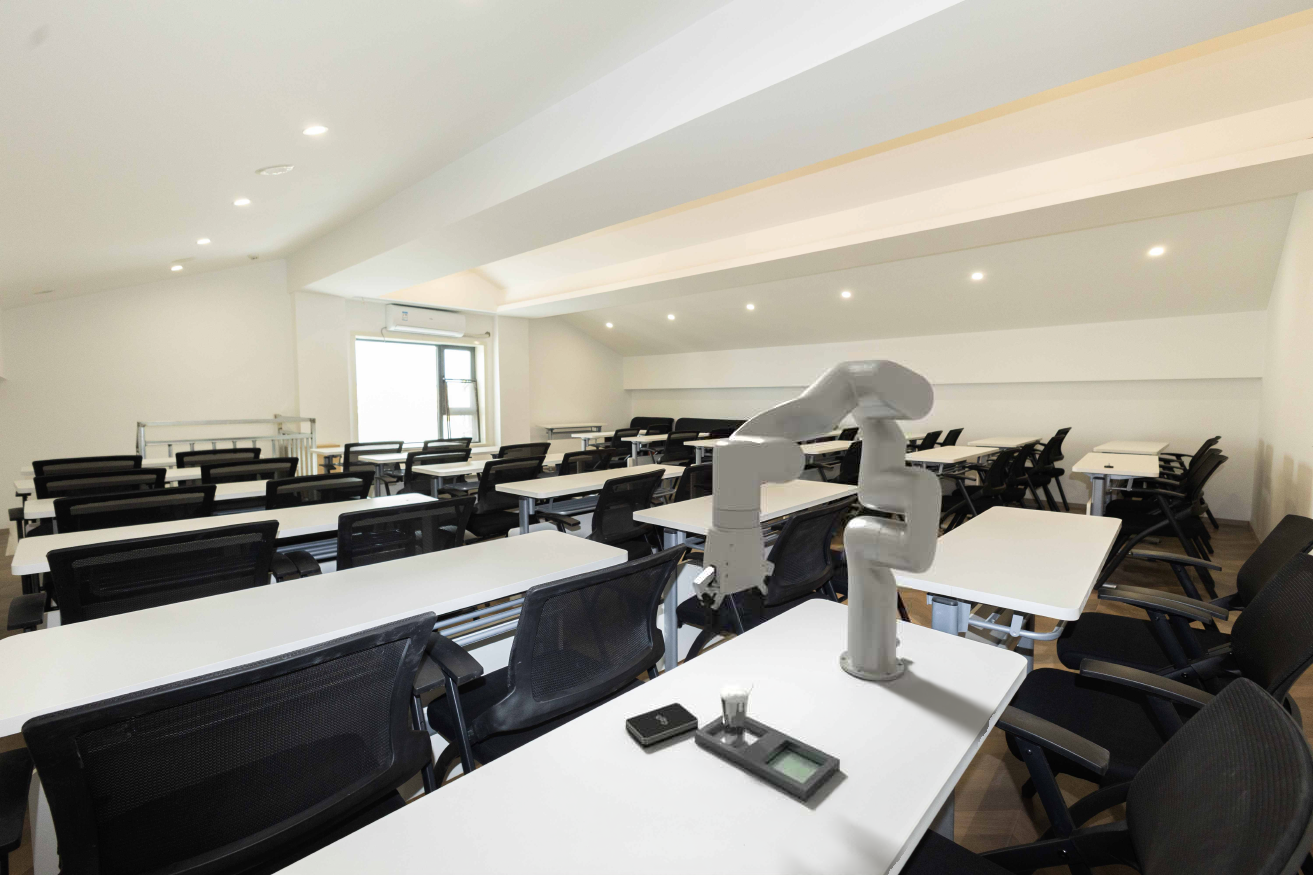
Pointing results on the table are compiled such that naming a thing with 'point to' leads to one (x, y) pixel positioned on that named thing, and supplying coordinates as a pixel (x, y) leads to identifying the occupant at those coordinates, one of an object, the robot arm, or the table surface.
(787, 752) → the two-slot gray tray
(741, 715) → the milkshake
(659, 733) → the external hard drive
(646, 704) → the table surface
